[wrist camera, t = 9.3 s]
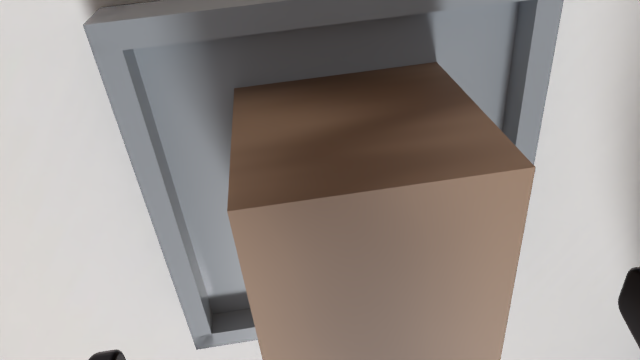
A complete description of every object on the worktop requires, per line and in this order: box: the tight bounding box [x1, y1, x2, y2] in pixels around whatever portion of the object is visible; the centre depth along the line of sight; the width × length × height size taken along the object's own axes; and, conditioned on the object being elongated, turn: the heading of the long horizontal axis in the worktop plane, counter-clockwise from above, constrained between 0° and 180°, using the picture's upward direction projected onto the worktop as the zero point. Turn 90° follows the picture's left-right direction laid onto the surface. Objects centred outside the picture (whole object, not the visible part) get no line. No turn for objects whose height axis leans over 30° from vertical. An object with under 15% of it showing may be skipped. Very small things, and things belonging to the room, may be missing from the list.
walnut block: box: [227, 62, 535, 360], centre depth 11 cm, size 5×5×5 cm
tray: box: [83, 0, 564, 349], centre depth 14 cm, size 10×10×1 cm
